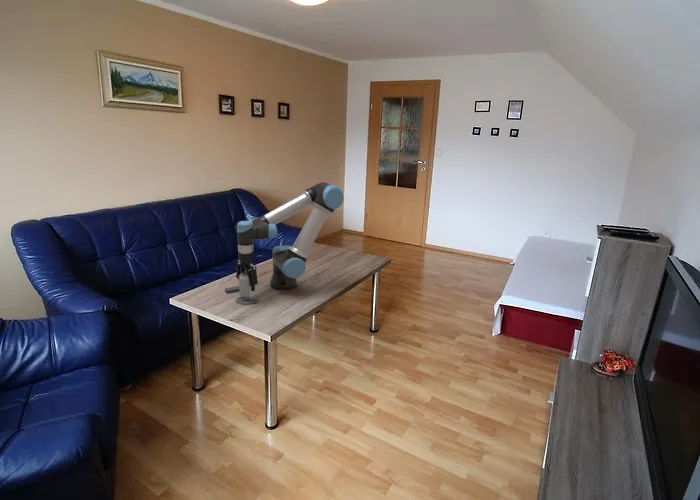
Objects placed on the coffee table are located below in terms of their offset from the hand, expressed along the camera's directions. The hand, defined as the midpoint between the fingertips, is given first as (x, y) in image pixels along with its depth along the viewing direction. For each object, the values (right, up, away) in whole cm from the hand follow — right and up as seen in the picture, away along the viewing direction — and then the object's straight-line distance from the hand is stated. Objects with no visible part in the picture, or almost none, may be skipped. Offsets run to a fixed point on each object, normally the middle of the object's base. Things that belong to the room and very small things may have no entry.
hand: (247, 294), depth 208 cm
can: (0, -1, 0) cm, 1 cm away
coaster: (0, -3, +1) cm, 3 cm away
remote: (-8, 0, +13) cm, 16 cm away
